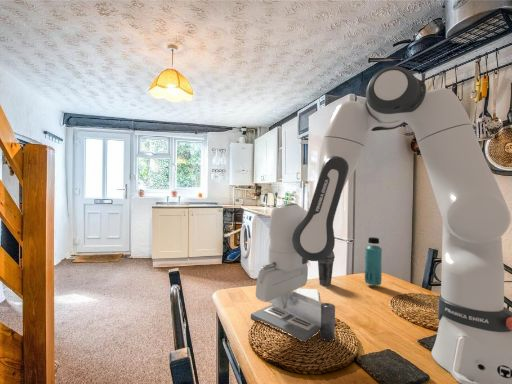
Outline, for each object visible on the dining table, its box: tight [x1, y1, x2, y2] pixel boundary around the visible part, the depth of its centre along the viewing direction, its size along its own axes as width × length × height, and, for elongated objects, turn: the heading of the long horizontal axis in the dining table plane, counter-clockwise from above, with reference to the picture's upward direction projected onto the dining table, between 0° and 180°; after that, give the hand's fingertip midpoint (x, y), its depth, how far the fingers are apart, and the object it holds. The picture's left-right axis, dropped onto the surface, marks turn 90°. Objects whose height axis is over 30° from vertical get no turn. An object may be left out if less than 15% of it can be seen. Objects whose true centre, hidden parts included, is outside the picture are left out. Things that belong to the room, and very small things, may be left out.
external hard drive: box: [295, 287, 321, 302], centre depth 99 cm, size 2×8×12 cm
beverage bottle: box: [364, 236, 383, 286], centre depth 112 cm, size 6×7×20 cm
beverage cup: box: [317, 250, 336, 287], centre depth 114 cm, size 7×7×20 cm
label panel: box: [250, 304, 320, 343], centre depth 81 cm, size 19×16×2 cm
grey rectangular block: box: [267, 290, 336, 341], centre depth 79 cm, size 23×4×8 cm, turn 39°
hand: (282, 308), depth 79 cm, fingers closed
